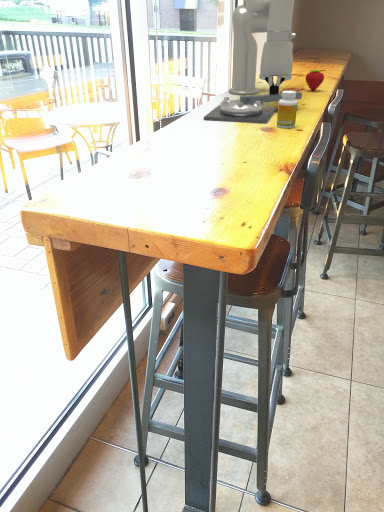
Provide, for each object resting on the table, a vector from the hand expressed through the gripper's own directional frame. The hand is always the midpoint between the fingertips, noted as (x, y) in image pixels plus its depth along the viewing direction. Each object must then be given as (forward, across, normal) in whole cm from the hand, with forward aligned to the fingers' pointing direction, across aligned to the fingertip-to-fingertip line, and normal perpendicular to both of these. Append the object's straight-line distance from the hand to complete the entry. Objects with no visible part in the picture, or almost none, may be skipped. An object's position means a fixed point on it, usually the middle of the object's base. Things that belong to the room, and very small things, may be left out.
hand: (273, 97), depth 140 cm
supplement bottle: (+4, -7, +23) cm, 24 cm away
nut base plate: (+4, +9, +11) cm, 15 cm away
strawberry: (+4, -11, -41) cm, 43 cm away
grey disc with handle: (+3, +3, +6) cm, 8 cm away
